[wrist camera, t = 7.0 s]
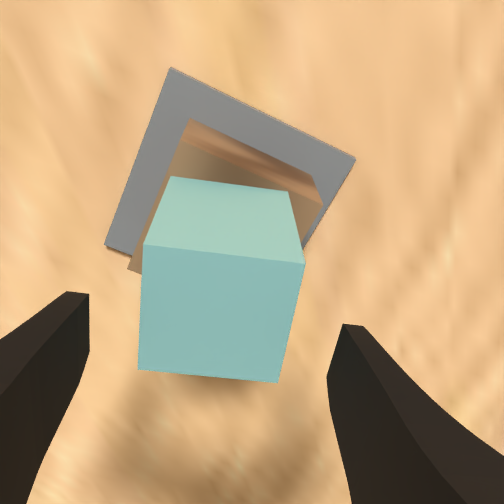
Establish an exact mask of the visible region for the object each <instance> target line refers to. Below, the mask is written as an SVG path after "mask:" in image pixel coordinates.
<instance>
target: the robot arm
mask: <svg viewBox="0 0 504 504" xmlns="http://www.w3.org/2000/svg"><path fill="white" fill-rule="evenodd" d="M89 352H90V344H89V294H85V293H77V292H68V291H66V292H65V293H63V294H62V295H61V296H59V297H58V298H57V299H55V300H54V301H53V302H51V303H50V304H49V305H47V306H46V307H45V308H43V309H42V310H41V311H39V312H38V313H37V314H35V315H34V316H33V317H31V318H30V319H29V320H27V321H26V322H24V323H23V324H22V325H20V326H19V327H17V328H16V329H15V330H13V331H12V332H10V333H9V334H8V335H6V336H5V337H3V338H1V339H0V504H26V503H27V500H28V497H29V495H30V492H31V489H32V486H33V484H34V481H35V478H36V475H37V473H38V470H39V468H40V465H41V463H42V461H43V459H44V456H45V454H46V452H47V450H48V448H49V446H50V444H51V442H52V439H53V437H54V435H55V433H56V431H57V429H58V427H59V425H60V423H61V421H62V419H63V417H64V415H65V412H66V410H67V408H68V406H69V404H70V402H71V400H72V398H73V396H74V394H75V391H76V389H77V387H78V385H79V382H80V379H81V376H82V374H83V371H84V368H85V364H86V361H87V358H88V355H89ZM327 388H328V398H329V406H330V412H331V416H332V420H333V424H334V429H335V433H336V437H337V441H338V445H339V449H340V453H341V457H342V461H343V465H344V469H345V473H346V477H347V481H348V486H349V491H350V496H351V502H352V504H504V456H503V455H502V454H500V453H499V452H497V451H496V450H495V449H493V448H492V447H490V446H489V445H488V444H486V443H485V442H483V441H482V440H481V439H479V438H478V437H477V436H475V435H474V434H473V433H471V432H470V431H469V430H468V429H466V428H465V427H464V426H463V425H461V424H460V423H459V422H458V421H457V420H455V419H454V418H453V417H452V416H451V415H449V414H448V413H447V412H446V411H445V410H443V409H442V408H441V407H440V406H439V405H438V404H437V403H436V402H435V401H434V400H432V399H431V398H430V397H429V396H428V395H427V394H426V393H425V392H424V391H423V390H422V389H421V388H420V387H419V386H418V385H417V384H416V383H415V382H414V381H413V380H412V379H411V378H410V377H409V376H408V375H407V374H406V373H405V372H404V370H403V369H402V368H401V367H400V366H399V365H398V364H397V363H396V362H395V361H394V360H393V359H392V357H391V356H390V355H389V354H388V353H387V352H386V351H385V350H384V348H383V347H382V346H381V345H380V344H379V343H378V342H377V341H376V339H375V338H374V337H373V336H372V335H371V334H370V333H369V332H368V331H367V329H366V328H365V327H364V326H358V325H350V324H343V325H342V328H341V331H340V334H339V338H338V341H337V344H336V347H335V351H334V354H333V357H332V360H331V364H330V367H329V370H328V373H327Z"/></svg>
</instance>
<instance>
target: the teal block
mask: <svg viewBox="0 0 504 504" xmlns="http://www.w3.org/2000/svg"><path fill="white" fill-rule="evenodd" d="M305 264H306V263H305V259H304V255H303V251H302V247H301V243H300V239H299V235H298V231H297V226H296V222H295V218H294V214H293V210H292V206H291V202H290V198H289V194H288V192H287V191H280V190H272V189H265V188H257V187H250V186H242V185H235V184H227V183H220V182H212V181H205V180H198V179H190V178H183V177H175V176H170V179H169V181H168V184H167V186H166V189H165V191H164V194H163V196H162V199H161V201H160V204H159V206H158V208H157V211H156V213H155V216H154V218H153V221H152V223H151V226H150V228H149V231H148V233H147V236H146V238H145V241H144V243H143V258H142V281H141V304H140V327H139V350H138V370H148V371H158V372H169V373H179V374H189V375H199V376H210V377H220V378H230V379H241V380H251V381H261V382H272V383H278V380H279V376H280V371H281V367H282V363H283V359H284V354H285V350H286V346H287V341H288V337H289V333H290V329H291V324H292V320H293V316H294V312H295V307H296V303H297V299H298V294H299V290H300V286H301V282H302V277H303V273H304V269H305Z"/></svg>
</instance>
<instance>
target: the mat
mask: <svg viewBox="0 0 504 504" xmlns="http://www.w3.org/2000/svg"><path fill="white" fill-rule="evenodd" d="M189 118H191V119H193V120H196V121H198V122H200V123H202V124H204V125H206V126H208V127H210V128H213V129H215V130H217V131H219V132H221V133H223V134H225V135H227V136H230V137H232V138H234V139H236V140H238V141H240V142H242V143H244V144H247V145H249V146H251V147H253V148H255V149H257V150H259V151H261V152H264V153H266V154H268V155H270V156H272V157H274V158H276V159H278V160H281V161H283V162H285V163H287V164H289V165H291V166H293V167H295V168H298V169H300V170H302V171H304V172H306V173H308V174H310V175H311V176H312V178H313V181H314V183H315V186H316V188H317V191H318V193H319V195H320V198H321V200H322V203H323V207H322V208H321V210H320V212H319V213H318V215H317V217H316V218H315V220H314V222H313V223H312V225H311V227H310V228H309V230H308V232H307V234H306V235H305V237H304V239H303V240H302V242H301V247H302V250H303V248H304V246H305V245H306V243H307V241H308V240H309V238H310V236H311V235H312V233H313V231H314V230H315V228H316V226H317V225H318V223H319V221H320V220H321V218H322V216H323V215H324V213H325V211H326V210H327V208H328V206H329V204H330V203H331V201H332V199H333V198H334V196H335V194H336V193H337V191H338V189H339V188H340V186H341V184H342V183H343V181H344V179H345V178H346V176H347V174H348V173H349V171H350V169H351V168H352V166H353V164H354V163H355V161H356V159H355V157H353V156H351V155H349V154H347V153H345V152H343V151H341V150H339V149H337V148H335V147H333V146H331V145H329V144H327V143H325V142H323V141H321V140H318V139H316V138H314V137H312V136H310V135H308V134H306V133H304V132H302V131H300V130H298V129H296V128H294V127H292V126H290V125H288V124H286V123H284V122H282V121H280V120H278V119H276V118H274V117H272V116H270V115H268V114H265V113H263V112H261V111H259V110H257V109H255V108H253V107H251V106H249V105H247V104H245V103H243V102H241V101H239V100H237V99H235V98H233V97H231V96H229V95H227V94H225V93H223V92H221V91H219V90H217V89H215V88H212V87H210V86H208V85H206V84H204V83H202V82H200V81H198V80H196V79H194V78H192V77H190V76H188V75H186V74H184V73H182V72H180V71H178V70H176V69H174V68H172V67H170V69H169V71H168V74H167V77H166V79H165V82H164V85H163V87H162V90H161V93H160V95H159V98H158V101H157V103H156V106H155V109H154V111H153V114H152V117H151V119H150V122H149V125H148V127H147V130H146V133H145V136H144V138H143V141H142V144H141V146H140V149H139V152H138V154H137V157H136V160H135V162H134V165H133V168H132V170H131V173H130V176H129V178H128V181H127V184H126V186H125V189H124V192H123V194H122V197H121V200H120V203H119V205H118V208H117V211H116V213H115V216H114V219H113V221H112V224H111V227H110V229H109V232H108V235H107V237H106V240H105V243H104V245H106V246H108V247H111V248H114V249H116V250H119V251H121V252H124V253H127V254H129V255H133V253H134V251H135V248H136V246H137V243H138V241H139V238H140V236H141V234H142V231H143V229H144V226H145V224H146V221H147V219H148V217H149V214H150V212H151V209H152V207H153V204H154V202H155V200H156V197H157V195H158V192H159V190H160V187H161V185H162V182H163V180H164V178H165V175H166V173H167V170H168V168H169V165H170V163H171V161H172V158H173V156H174V153H175V151H176V148H177V146H178V144H179V141H180V139H181V136H182V134H183V132H184V130H185V127H186V125H187V123H188V121H189Z"/></svg>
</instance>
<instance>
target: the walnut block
mask: <svg viewBox="0 0 504 504" xmlns="http://www.w3.org/2000/svg"><path fill="white" fill-rule="evenodd" d="M170 176H175V177H183V178H190V179H198V180H205V181H212V182H220V183H227V184H235V185H242V186H250V187H257V188H265V189H272V190H280V191H287V192H288V194H289V198H290V202H291V206H292V210H293V214H294V218H295V222H296V226H297V231H298V235H299V239H300V243H301V242H302V240H303V239H304V237H305V235H306V234H307V232H308V230H309V228H310V227H311V225H312V223H313V222H314V220H315V218H316V217H317V215H318V213H319V212H320V210H321V208H322V207H323V203H322V200H321V198H320V195H319V193H318V191H317V188H316V186H315V183H314V181H313V178H312V176H311V175H310V174H308V173H306V172H304V171H302V170H300V169H298V168H295V167H293V166H291V165H289V164H287V163H285V162H283V161H281V160H278V159H276V158H274V157H272V156H270V155H268V154H266V153H264V152H261V151H259V150H257V149H255V148H253V147H251V146H249V145H247V144H244V143H242V142H240V141H238V140H236V139H234V138H232V137H230V136H227V135H225V134H223V133H221V132H219V131H217V130H215V129H213V128H210V127H208V126H206V125H204V124H202V123H200V122H198V121H196V120H193V119H191V118H189V121H188V123H187V125H186V127H185V130H184V132H183V134H182V136H181V139H180V141H179V144H178V146H177V148H176V151H175V153H174V156H173V158H172V161H171V163H170V165H169V168H168V170H167V173H166V175H165V178H164V180H163V182H162V185H161V187H160V190H159V192H158V195H157V197H156V200H155V202H154V204H153V207H152V209H151V212H150V214H149V217H148V219H147V221H146V224H145V226H144V229H143V231H142V234H141V236H140V238H139V241H138V243H137V246H136V248H135V251H134V253H133V255H132V258H131V260H130V263H129V265H128V268H127V269H128V270H131V271H134V272H136V273H139V274H142V258H143V243H144V241H145V238H146V236H147V233H148V231H149V228H150V226H151V223H152V221H153V218H154V216H155V213H156V211H157V208H158V206H159V204H160V201H161V199H162V196H163V194H164V191H165V189H166V186H167V184H168V181H169V179H170Z"/></svg>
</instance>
